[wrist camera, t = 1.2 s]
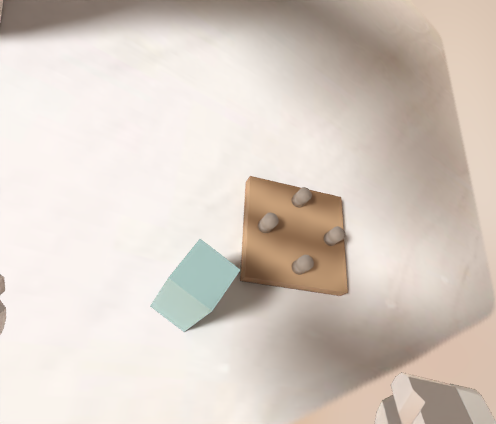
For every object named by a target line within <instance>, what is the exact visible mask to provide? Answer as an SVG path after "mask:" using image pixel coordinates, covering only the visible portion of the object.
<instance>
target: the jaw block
mask: <svg viewBox="0 0 496 424" xmlns="http://www.w3.org/2000/svg"><path fill="white" fill-rule="evenodd" d="M239 272H240V269H239V268H238V267H236V266H235V265H234V264H232V263H231V262H230V261H228V260H227V259H226V258H225V257H223V256H222V255H221V254H219V253H218V252H217V251H216V250H214V249H213V248H212V247H210V246H209V245H208V244H206V243H205V242H204V241H203V240H201V239H199V241H198V242H197V243H196V244H195V246H194V247H193V248H192V249H191V251H190V252H189V253H188V254H187V255H186V257H185V258H184V259H183V260H182V262H181V263H180V264H179V265H178V267H177V268H176V269H175V270H174V272H173V273H172V274H171V275H170V277H169V278H168V279H167V281H166V282H165V284H164V286H163V287H162V289H161V290H160V292H159V293H158V295H157V296H156V298H155V300H154V301H153V303H152V304H151V307H152V308H153V309H155V310H156V311H157V312H158V313H160V314H161V315H162V316H164V317H165V318H166V319H168V320H169V321H170V322H172V323H173V324H174V325H175V326H177V327H178V328H179V329H181V330H182V331H183V332H185V331H186V330H187V329H189V328H190V327H191V326H193V325H194V324H196V323H197V322H198V321H200V320H201V319H202V318H204V317H205V316H206V315H208V314H209V313H211V312H212V311H213V309H214V308H215V306H216V305H217V303H218V302H219V301H220V299H221V298H222V296H223V295H224V293H225V292H226V290H227V289H228V288H229V286H230V285H231V283H232V282H233V280H234V279H235V277H236V276H237V274H238V273H239Z"/></svg>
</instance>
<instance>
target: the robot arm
mask: <svg viewBox="0 0 496 424" xmlns="http://www.w3.org/2000/svg"><path fill="white" fill-rule="evenodd" d="M2 7H3V0H0V21H1V14H2ZM4 291H5V282H4V277H3V276H2V275H0V295H1V294H2V293H3V292H4ZM5 320H6V307H5V306H4V305H3V303H2V302H1V301H0V335H1V333H2V331H3V329H4V325H5ZM391 388H392V392H393V395H392V396H390V397H388V398H386V399H384V400H382V402H381V404H380V406H379V408H378V410H377V412H376V419H375V424H496V421H495V419H494V417H493V416H492V414H491V412H490V410H489V408H488V406H487V404H486V403H485V401H484V399H483V397H482V395H480V393H478V392H477V391H476V390H475V389H470V388H467V387H462V386H458V385H454V384H447V383H443V382H439V381H435V380H431V379H427V378H422V377H418V376H414V375H410V374H406V373H402V372H401V373H400V374H398V375H397V376H396V377H395V379H394V380H393V382H392V384H391Z"/></svg>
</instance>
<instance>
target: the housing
mask: <svg viewBox="0 0 496 424" xmlns="http://www.w3.org/2000/svg"><path fill="white" fill-rule="evenodd" d="M344 238H345V232H344V230H343V216H342V201H341V197H338V196H334V195H330V194H325V193H321V192H317V191H312V190H309V189H308V188H305V187H303V188H300V187H295V186H291V185H287V184H282V183H278V182H274V181H270V180H265V179H261V178H257V177H252V176H250V177H249V178H248V180H247V181H246V188H245V205H244V223H243V241H242V258H241V276H240V281H245V282H251V283H258V284H265V285H271V286H278V287H284V288H291V289H298V290H304V291H311V292H318V293H324V294H331V295H337V296H341V295H344V294H346V293H348V290H347V275H346V261H345V246H344Z"/></svg>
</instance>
